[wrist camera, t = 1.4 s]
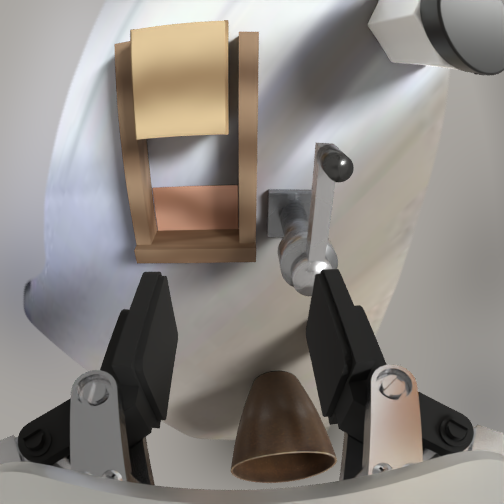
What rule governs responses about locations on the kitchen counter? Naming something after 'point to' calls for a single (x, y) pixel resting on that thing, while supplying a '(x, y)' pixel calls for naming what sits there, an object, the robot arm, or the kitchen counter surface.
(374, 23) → the jar
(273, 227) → the winch post
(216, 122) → the tan wooden block
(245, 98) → the bay
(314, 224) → the crank
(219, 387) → the kitchen counter surface
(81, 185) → the kitchen counter surface
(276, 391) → the plant pot
